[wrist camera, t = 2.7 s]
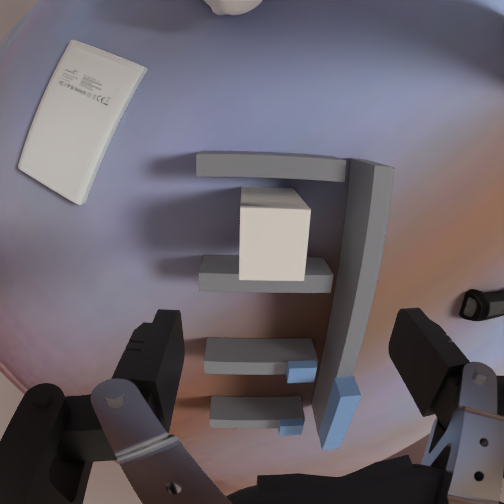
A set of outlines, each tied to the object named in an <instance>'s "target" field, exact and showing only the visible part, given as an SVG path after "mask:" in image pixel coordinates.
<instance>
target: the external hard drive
mask: <svg viewBox="0 0 504 504" xmlns="http://www.w3.org/2000/svg"><path fill="white" fill-rule="evenodd" d="M147 70H148V69H147V68H145V67H143V66H141V65H139V64H136V63H134V62H132V61H129V60H127V59H124V58H122V57H119V56H117V55H114V54H111V53H109V52H106V51H104V50H101V49H98V48H96V47H93V46H90V45H87V44H85V43H82V42H79V41H76V40H73V39H71V41H70V43H69V45H68V46H67V48H66V50H65V52H64V54H63V56H62V58H61V60H60V61H59V63H58V65H57V67H56V69H55V71H54V73H53V75H52V77H51V79H50V82H49V84H48V86H47V88H46V90H45V93H44V95H43V97H42V100H41V102H40V104H39V107H38V109H37V112H36V114H35V117H34V119H33V122H32V125H31V127H30V130H29V133H28V136H27V139H26V142H25V145H24V148H23V151H22V154H21V157H20V161H19V164H18V168H19V169H20V170H21V171H23V172H24V173H26V174H28V175H29V176H31V177H32V178H34V179H36V180H37V181H39V182H40V183H42V184H44V185H45V186H47V187H49V188H50V189H52V190H53V191H55V192H57V193H59V194H60V195H62V196H63V197H65V198H67V199H68V200H70V201H72V202H74V203H75V204H78V205H82V204H84V203H85V202H86V200H87V197H88V194H89V191H90V189H91V186H92V184H93V181H94V179H95V176H96V174H97V171H98V169H99V166H100V164H101V162H102V159H103V157H104V155H105V152H106V150H107V148H108V145H109V143H110V141H111V139H112V137H113V135H114V133H115V130H116V128H117V126H118V124H119V122H120V120H121V118H122V116H123V114H124V112H125V110H126V108H127V106H128V104H129V103H130V101H131V99H132V97H133V95H134V93H135V91H136V90H137V88H138V86H139V84H140V82H141V81H142V79H143V77H144V75H145V74H146V72H147Z"/></svg>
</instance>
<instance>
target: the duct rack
mask: <svg viewBox="0 0 504 504" xmlns="http://www.w3.org/2000/svg"><path fill="white" fill-rule="evenodd" d="M394 170H395V168H394V167H390V166H387V165H383V164H380V163H376V162H373V161H369V160H363V159H354V158H351V159H350V172H349V183H348V193H347V203H346V212H345V221H344V229H343V237H342V245H341V252H340V259H339V266H338V273H337V279H336V285H335V291H334V297H333V303H332V309H331V314H330V320H329V325H328V330H327V336H326V341H325V346H324V350H323V355H322V360H321V365H320V369H319V374H318V378H317V382H316V387H315V391H314V395H313V399H312V403H311V404H312V408H313V413H314V418H315V422H316V427H317V432H318V436H319V438H320V443H321V448H322V450H328V449H337V448H339V447H340V445H341V443H342V441H343V438H344V436H345V434H346V431H347V429H348V427H349V424H350V422H351V419H352V417H353V414H354V412H355V409H356V407H357V404H358V402H359V399H360V396H361V394H360V391H359V388H358V386H357V383H356V381H355V378H354V376H352V375H353V372H354V369H355V366H356V362H357V359H358V355H359V352H360V348H361V345H362V341H363V338H364V334H365V330H366V326H367V322H368V318H369V314H370V310H371V306H372V302H373V297H374V293H375V288H376V284H377V279H378V274H379V269H380V264H381V259H382V254H383V248H384V243H385V237H386V231H387V224H388V218H389V211H390V204H391V196H392V188H393V179H394ZM345 172H346V160H343V159H339V158H336V157H333V156H322V155H309V154H294V153H275V152H247V151H202V152H200V153H198V154H196V177H262V178H287V179H306V180H322V181H336V182H345ZM198 275H199V291H212V292H256V293H331V288H332V281H333V274H332V272H331V270H330V269H329V267H328V265H327V263H326V262H325V260H324V258H323V257H306V267H305V276H304V281H264V280H239V256H231V255H204V257H203V260H202V263H201V266H200V270H199V273H198ZM317 364H318V359H317V356H316V352H315V349H314V346H313V342H312V339H311V338H292V339H250V338H211V337H208V338H207V344H206V350H205V357H204V370H205V373H210V374H241V375H281V374H286V378H287V383H305V382H314V380H315V375H316V370H317ZM304 421H305V417H304V411H303V406H302V401H301V396H286V397H228V396H212V397H211V407H210V417H209V422H210V427H216V428H278V432H279V436H286V435H301V433H302V430H303V426H304V425H303V424H304Z"/></svg>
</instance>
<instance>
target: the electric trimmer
mask: <svg viewBox="0 0 504 504" xmlns="http://www.w3.org/2000/svg"><path fill="white" fill-rule="evenodd" d="M459 314H460V316H461V317H462V318H463V319H467V320H472V321H483V320H487V319H492V318H496V317H500V316H503V315H504V292H495V293H483V292H481V291H478V290H474V289H471V290H470V292H466V294H465V297H464V300H463V303H462V307H461V310H460V313H459Z"/></svg>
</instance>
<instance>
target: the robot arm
mask: <svg viewBox="0 0 504 504" xmlns="http://www.w3.org/2000/svg"><path fill="white" fill-rule="evenodd" d="M389 355H390V358H391V360H392V361H393V363H394V365H395V367H396V368H397V370H398V372H399V374H400V375H401V377H402V379H403V381H404V383H405V384H406V386H407V388H408V390H409V392H410V394H411V395H412V397H413V399H414V401H415V403H416V405H417V407H418V408H419V410H420V412H421V414H422V416H423V417H425V416H429V415H433V414H436V416H437V418H436V419H435V421H434V423H433V426H432V429H431V433H430V437H429V440H428V444H427V447H426V450H425V453H424V457H423V459H422V462H421V464H412V463H411V460H410V458H409V455H405V456H402V457H397V458H393V459H389V460H384V461H380V462H375V463H373V464H371V465H369V466H367V467H364V468H362V469H360V470H358V471H355V472H353V473H350V474H348V475H345V476H342V477H329V476H317V475H307V474H299V473H298V474H283V475H258V476H257V485H255V486H251V487H247V488H244V489H241V490H239V491H236V492H234V493H232V494H230V495H228V496H225V495H224V494H223V493H222V492H221V491H220V489H219V488H218V487H217V486H216V485H215V484H214V483H213V481H212V480H211V479H210V478H209V477H208V476H207V474H206V473H205V472H204V471H203V470H202V469H201V467H200V466H199V465H198V464H197V462H196V461H195V460H194V459H193V457H192V456H191V455H190V454H189V452H188V451H187V450H186V449H185V447H184V446H183V445H182V443H181V442H180V441H179V440H178V439H177V437H176V436H174V435H173V434H172V435H169V434H168V433H169V429H170V424H171V419H172V414H173V409H174V405H175V400H176V395H177V390H178V386H179V381H180V377H181V372H182V368H183V363H184V339H183V330H182V320H181V313H180V311H179V310H163V309H159V310H158V311H157V313H156V315H155V318H154V320H153V322H152V323H145V322H144V323H142V324H141V325H140V326H139V327H138V328H136V329H135V330H134V332H133V334H132V336H131V338H130V340H129V342H128V344H127V346H126V350H124V352H123V355H122V357H121V359H120V361H119V363H118V365H117V368H116V370H115V372H114V374H113V376H112V379H109V380H106V381H103V382H101V383H100V384H98V385H97V386H96V387H95V388H94V389H93V391H92V393H91V394H90V395H81V396H67V397H65V396H64V394H63V392H62V390H61V389H60V388H59V387H58V386H56V385H54V384H49V383H43V384H39V385H36V386H34V387H32V388H31V389H29V390H28V391H27V392H26V393H25V395H24V397H23V399H22V400H21V402H20V404H19V406H18V407H17V410H16V411H15V413H14V415H13V417H12V419H11V421H10V423H9V425H8V427H7V429H6V431H5V433H4V435H3V437H2V439H1V441H0V504H83V500H84V496H85V492H86V487H87V483H88V479H89V475H90V471H91V467H92V464H93V462H95V461H110V460H118V462H119V464H120V466H121V468H122V470H123V472H124V473H125V475H126V477H127V479H128V480H129V482H130V484H131V486H132V487H133V489H134V491H135V492H136V494H137V496H138V497H139V499H140V500H141V502H142V504H504V503H502V502H500V501H499V499H500V493H501V487H502V480H503V478H504V376H496V374H495V372H494V371H493V370H492V369H491V368H490V367H489V366H487V365H485V364H483V363H480V362H469V360H468V359H467V358H466V357H465V355H464V354H463V353H462V352H461V350H460V349H459V348H458V347H457V346H456V344H455V343H454V342H452V340H451V338H450V337H449V336H447V334H446V332H445V331H444V330H443V329H442V328H441V327H440V326H439V325H438V324H436V323H435V322H433V321H432V320H430V319H429V318H428V317H427V316H426V315H425V314H424V312H423V311H422V310H421V309H420V308H406V309H400V310H399V312H398V314H397V317H396V321H395V324H394V328H393V331H392V334H391V338H390V341H389Z"/></svg>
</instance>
